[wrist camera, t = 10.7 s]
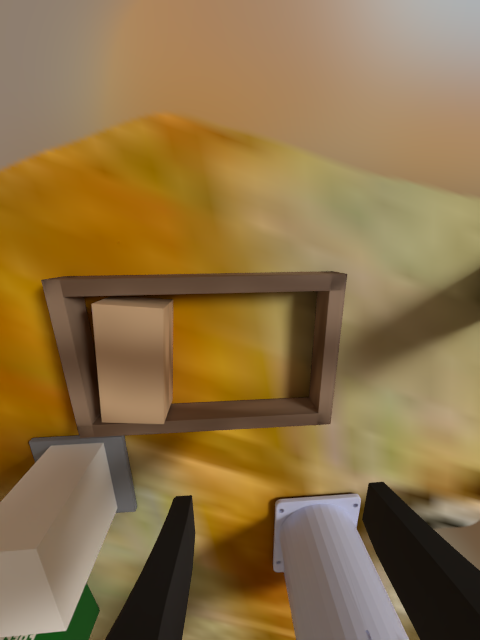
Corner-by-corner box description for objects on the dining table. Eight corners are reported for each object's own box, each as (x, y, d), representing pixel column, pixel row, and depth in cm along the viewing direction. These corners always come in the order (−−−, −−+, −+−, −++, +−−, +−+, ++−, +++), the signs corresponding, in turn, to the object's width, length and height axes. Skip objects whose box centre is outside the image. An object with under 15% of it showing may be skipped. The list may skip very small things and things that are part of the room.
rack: (320, 407, 20) (330, 424, 18) (94, 418, 19) (79, 437, 17) (332, 271, 17) (347, 274, 15) (63, 276, 16) (41, 279, 14)
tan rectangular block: (173, 397, 19) (163, 424, 16) (120, 395, 19) (101, 422, 16) (173, 298, 17) (163, 308, 14) (115, 294, 16) (91, 303, 14)
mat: (137, 506, 21) (135, 511, 21) (56, 512, 21) (52, 517, 21) (123, 433, 19) (121, 436, 19) (32, 438, 19) (28, 442, 18)
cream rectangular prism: (117, 508, 21) (66, 630, 14) (69, 511, 21) (-6, 637, 14) (103, 442, 19) (36, 549, 12) (50, 445, 19) (-48, 555, 12)
